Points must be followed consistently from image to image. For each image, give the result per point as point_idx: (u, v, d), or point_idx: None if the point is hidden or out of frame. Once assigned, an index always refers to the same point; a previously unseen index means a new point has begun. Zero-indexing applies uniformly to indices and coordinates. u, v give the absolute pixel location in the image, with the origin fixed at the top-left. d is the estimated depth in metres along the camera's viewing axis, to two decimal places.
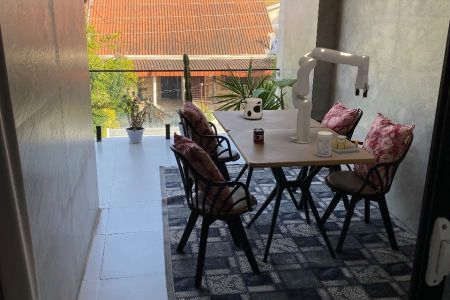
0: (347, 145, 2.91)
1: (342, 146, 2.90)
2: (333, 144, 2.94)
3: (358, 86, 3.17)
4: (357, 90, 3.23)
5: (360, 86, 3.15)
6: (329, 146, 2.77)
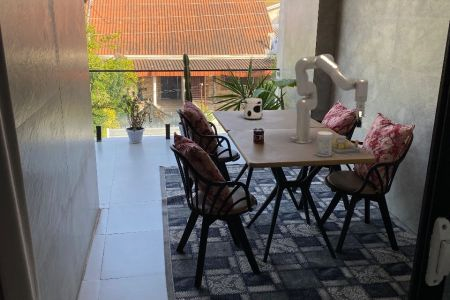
0: (347, 145, 2.91)
1: (342, 146, 2.90)
2: (333, 144, 2.94)
3: None
4: None
5: None
6: (329, 146, 2.77)
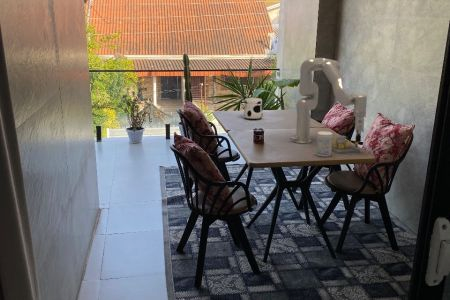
0: (347, 145, 2.91)
1: (342, 146, 2.90)
2: (333, 144, 2.94)
3: None
4: None
5: None
6: (329, 146, 2.77)
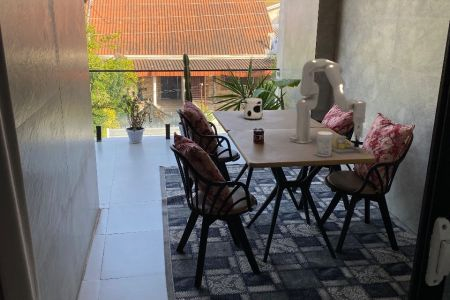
0: (347, 145, 2.91)
1: (342, 146, 2.90)
2: (333, 144, 2.94)
3: None
4: None
5: None
6: (329, 146, 2.77)
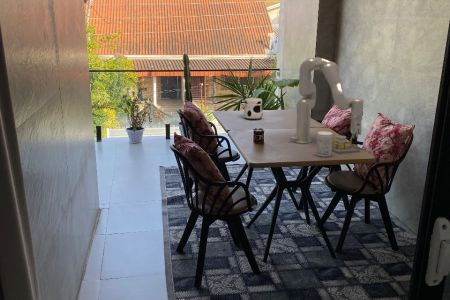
0: (350, 144, 2.94)
1: (348, 146, 2.92)
2: (339, 145, 2.91)
3: None
4: None
5: None
6: (329, 146, 2.77)
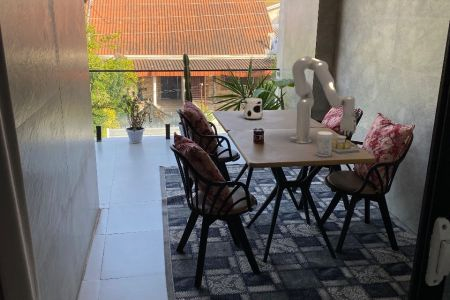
0: None
1: None
2: (345, 145, 2.90)
3: None
4: None
5: None
6: (329, 146, 2.77)
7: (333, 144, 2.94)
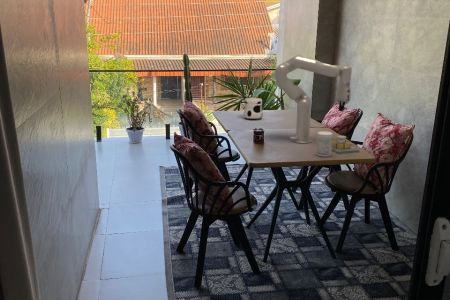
0: None
1: None
2: (345, 145, 2.90)
3: None
4: None
5: None
6: (329, 146, 2.77)
7: (333, 144, 2.94)
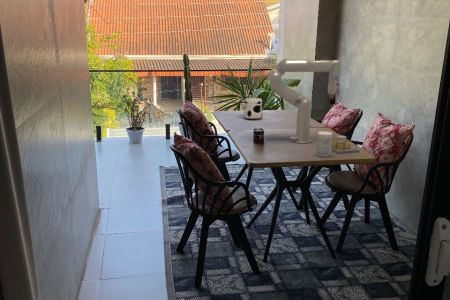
0: None
1: None
2: (345, 145, 2.90)
3: None
4: None
5: None
6: (329, 146, 2.77)
7: (333, 144, 2.94)
